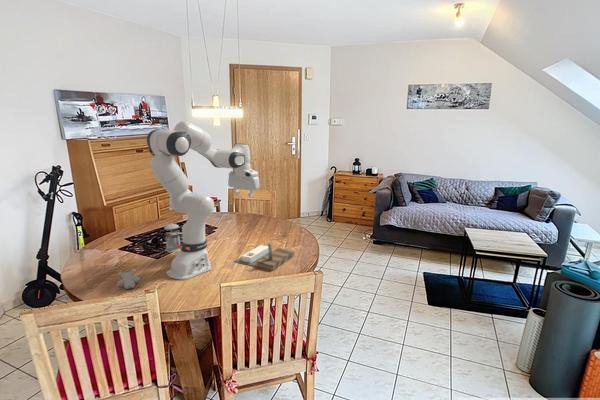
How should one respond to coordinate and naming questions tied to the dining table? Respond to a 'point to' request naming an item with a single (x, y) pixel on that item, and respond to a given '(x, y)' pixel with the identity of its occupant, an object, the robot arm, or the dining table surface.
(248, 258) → the link
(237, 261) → the mat
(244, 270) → the dining table surface
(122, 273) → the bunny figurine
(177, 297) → the dining table surface
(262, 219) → the dining table surface
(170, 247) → the french press
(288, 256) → the stand
